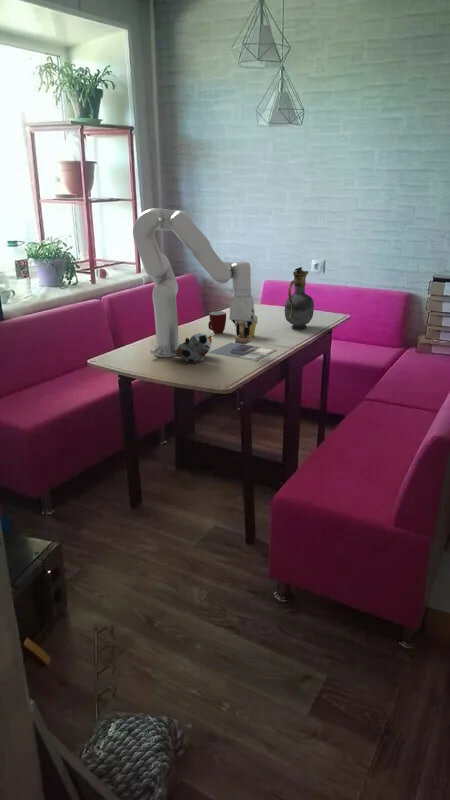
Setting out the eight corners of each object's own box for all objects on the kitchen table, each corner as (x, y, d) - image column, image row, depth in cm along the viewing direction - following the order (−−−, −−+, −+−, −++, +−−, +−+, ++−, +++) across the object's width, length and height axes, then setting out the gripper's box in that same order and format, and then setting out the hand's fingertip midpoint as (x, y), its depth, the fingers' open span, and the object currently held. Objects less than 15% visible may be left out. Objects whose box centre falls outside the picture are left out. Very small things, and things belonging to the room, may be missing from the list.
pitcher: (315, 325, 296) (317, 264, 285) (298, 334, 281) (300, 270, 271) (296, 323, 302) (297, 263, 291) (278, 331, 287) (278, 269, 276)
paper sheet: (255, 360, 243) (255, 359, 243) (239, 357, 248) (239, 356, 247) (276, 349, 256) (276, 349, 256) (260, 347, 261) (260, 346, 260)
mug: (217, 337, 280) (217, 316, 276) (203, 335, 284) (203, 315, 281) (229, 332, 288) (229, 312, 285) (216, 330, 292) (215, 310, 289)
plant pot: (231, 338, 279) (231, 317, 275) (241, 332, 287) (241, 312, 284) (251, 340, 274) (251, 319, 270) (261, 334, 283) (261, 314, 279)
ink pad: (244, 354, 251) (244, 351, 250) (230, 352, 254) (230, 349, 254) (255, 349, 258) (255, 346, 257) (241, 347, 261) (241, 343, 261)
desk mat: (255, 362, 243) (255, 360, 243) (208, 353, 256) (208, 352, 256) (277, 351, 257) (277, 349, 257) (231, 343, 270) (231, 342, 269)
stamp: (245, 344, 251) (244, 318, 247) (235, 343, 254) (234, 317, 250) (251, 341, 255) (250, 316, 251) (241, 340, 258) (240, 315, 254)
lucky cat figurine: (186, 353, 257) (200, 325, 253) (207, 367, 253) (222, 339, 249) (167, 352, 244) (182, 323, 240) (189, 368, 239) (204, 338, 235)
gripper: (220, 292, 248) (222, 335, 255) (254, 295, 240) (254, 339, 246) (230, 289, 254) (231, 331, 261) (263, 292, 245) (264, 335, 252)
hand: (243, 335), depth 253 cm, fingers closed on stamp, 3 cm apart
